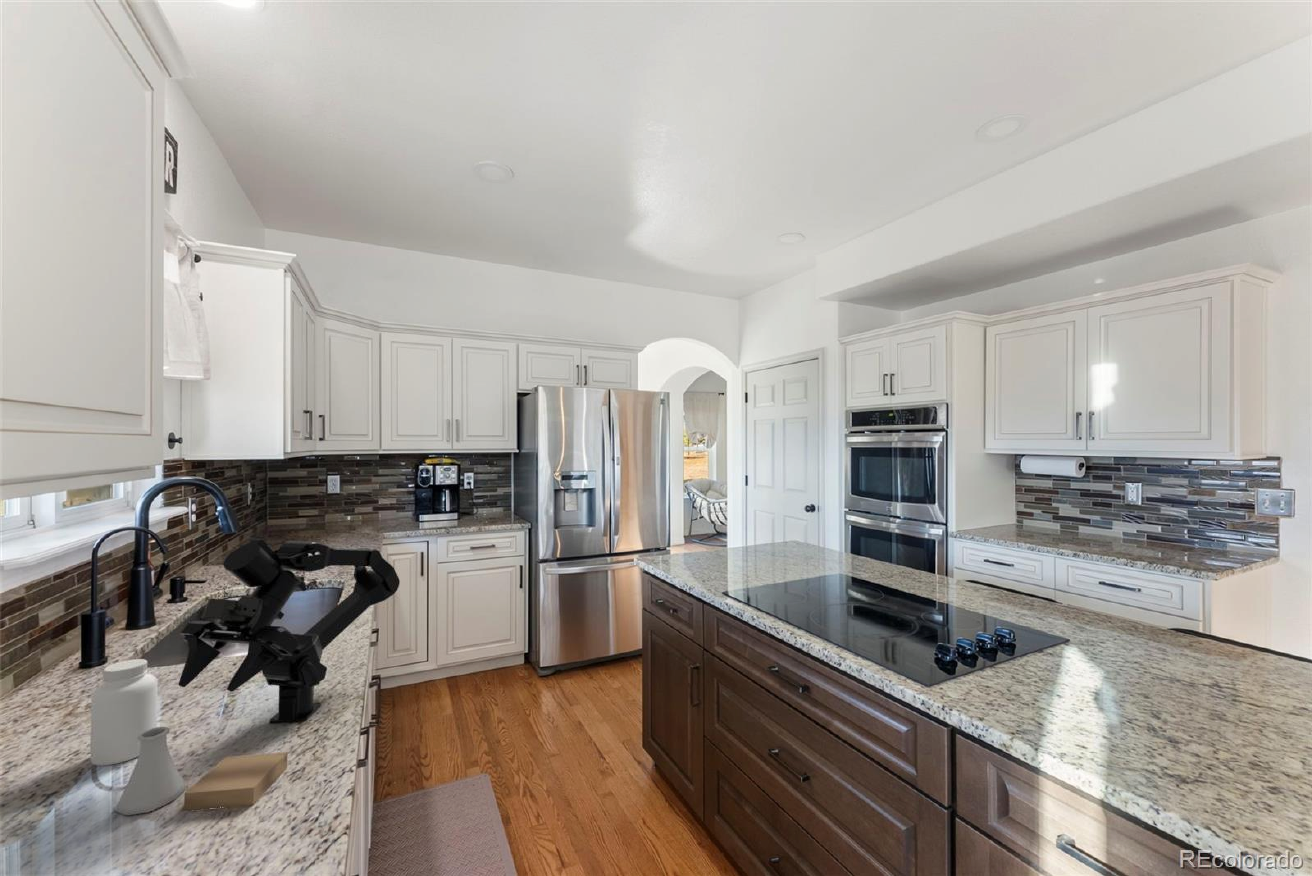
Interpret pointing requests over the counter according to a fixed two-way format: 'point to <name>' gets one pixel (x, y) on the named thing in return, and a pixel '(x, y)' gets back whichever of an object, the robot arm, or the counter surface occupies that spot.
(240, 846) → the counter surface
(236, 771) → the square wooden block
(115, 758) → the pill bottle
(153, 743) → the flask
